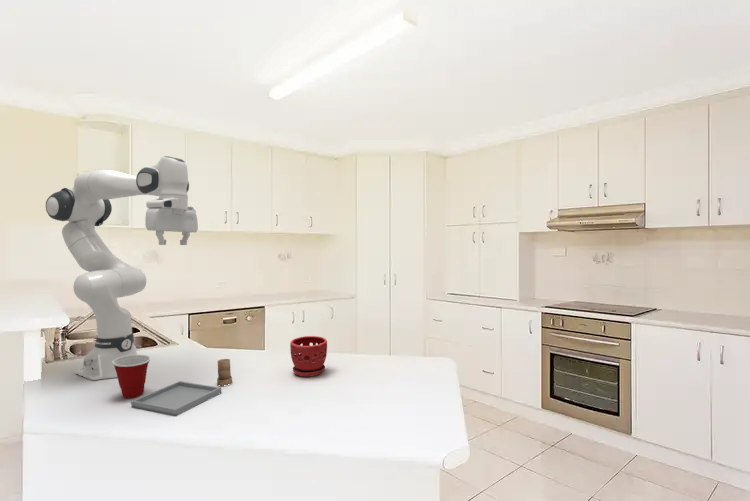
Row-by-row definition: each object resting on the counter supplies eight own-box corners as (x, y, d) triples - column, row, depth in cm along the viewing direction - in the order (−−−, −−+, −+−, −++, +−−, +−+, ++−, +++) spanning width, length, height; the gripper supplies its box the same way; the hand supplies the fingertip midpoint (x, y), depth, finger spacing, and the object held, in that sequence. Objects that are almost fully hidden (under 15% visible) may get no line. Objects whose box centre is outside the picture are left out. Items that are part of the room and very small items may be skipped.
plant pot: (284, 377, 152) (283, 343, 151) (302, 365, 164) (301, 334, 164) (318, 380, 148) (316, 346, 147) (333, 368, 160) (332, 336, 159)
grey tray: (131, 407, 129) (131, 401, 129) (179, 386, 146) (179, 381, 146) (175, 416, 122) (175, 409, 122) (221, 392, 139) (221, 387, 139)
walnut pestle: (214, 385, 146) (213, 362, 146) (224, 380, 150) (223, 358, 150) (225, 387, 144) (224, 363, 144) (235, 382, 149) (234, 359, 148)
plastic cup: (136, 403, 133) (133, 364, 132) (105, 401, 135) (103, 363, 134) (160, 389, 143) (158, 354, 143) (132, 388, 145) (130, 353, 145)
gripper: (188, 207, 158) (188, 245, 158) (141, 201, 139) (141, 244, 139) (202, 207, 156) (202, 245, 156) (157, 201, 137) (157, 245, 137)
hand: (173, 245), depth 148 cm, fingers open, 8 cm apart
